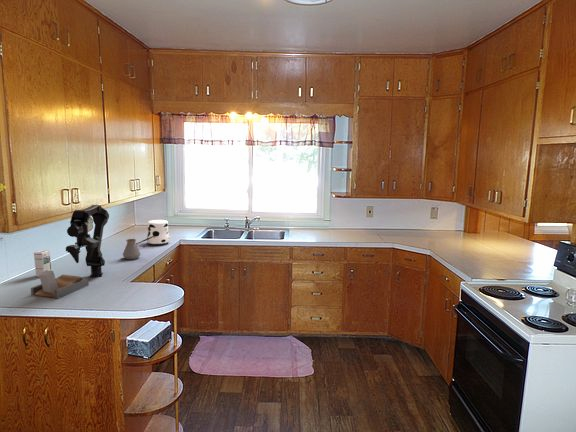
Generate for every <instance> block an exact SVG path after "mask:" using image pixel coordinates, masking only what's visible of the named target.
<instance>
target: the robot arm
mask: <svg viewBox="0 0 576 432" xmlns="http://www.w3.org/2000/svg"><path fill="white" fill-rule="evenodd" d="M90 218H92V221H93V223H94V229H93V235H92V237H91V234H89V230H88V228H89V227H88V224H89V220H90ZM109 218H110V214H109V212H108V211H107V210H106V209H105V208H104V207H102V206H101V205H99V204H92V205H90V206H88V207H86V208H84V209H75V210H74V211H73V212H72V215H71V218H70V221H69V224H70V225H69V227H67V229H66V234H67V235H68V236H70V237H72V238H76V242H74V244H69V245H67V246H66V247H65V252H67V253H69V254H70V256H71V257H72V258H73V260H74V261H75V263H76V264H79V262H80V261H79V260H80V253H81V248H85V251H86V256H85V264H86V266H87V267H90V274H89V278H97V277H100V278H101V277H103V275H104V272H102V266H105V265H106V260H105V259H104V257H103V253H102V251H101V246H102V240H103V234H104V233H103V232H104V229H105V228H104V227H105V226H106V225H107V223H108V220H109Z"/></svg>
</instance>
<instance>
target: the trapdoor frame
mask: <svg viewBox="0 0 576 432" xmlns="http://www.w3.org/2000/svg"><path fill="white" fill-rule="evenodd" d="M80 277H81V280H80V281H77V282H75V283H72V284H70V285H68V286H65V287H63V288H60V289H58V290H55V291H54V293H55V298H54V299H56V300H58V299H60V298H63V297H65V296H67V295H69V294H72V293H74V292H76V291H78V290H81V289H83V288H86V287H88V286H89V285H90V284H89V277H82V276H80ZM57 278H58V277H55V279H57ZM42 288H43V287H42V283H41V284H37V285H34V286H33V287H30V295H33V296H32V297H35V296H36V295H35V293H36V292H37V291H39V290H40V289H42ZM34 295H35V296H34Z"/></svg>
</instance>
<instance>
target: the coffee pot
mask: <svg viewBox="0 0 576 432" xmlns="http://www.w3.org/2000/svg"><path fill="white" fill-rule="evenodd" d="M152 237H154V236H152ZM152 237H150V238H152ZM150 238H147V237H146V238H145V239H143V240H140V241H138V242H137V239H136V238H128V239H125V240H126V241H125V242H126V245H125V248H124V250H123V252H122V256H123V258H124V259H126V260H137V259H138V258H139V257H140V256H141V251H140V249H139V247H138V244H140V243H141V244H142V243H143V242H147V240H149V239H150ZM154 238H155V237H154Z"/></svg>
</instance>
